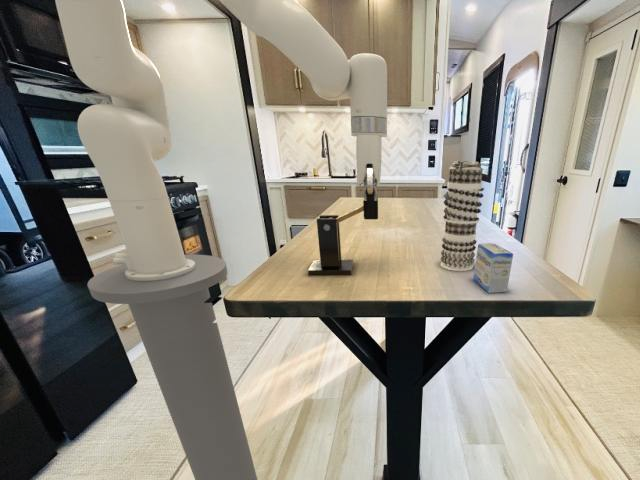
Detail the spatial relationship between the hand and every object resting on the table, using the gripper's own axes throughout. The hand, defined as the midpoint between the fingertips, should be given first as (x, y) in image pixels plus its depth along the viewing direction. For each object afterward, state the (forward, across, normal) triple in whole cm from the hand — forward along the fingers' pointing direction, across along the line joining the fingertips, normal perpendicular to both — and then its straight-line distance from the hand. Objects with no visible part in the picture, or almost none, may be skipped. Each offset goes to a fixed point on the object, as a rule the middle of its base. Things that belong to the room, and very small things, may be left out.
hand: (371, 215), depth 74 cm
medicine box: (+13, +12, +26) cm, 32 cm away
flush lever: (+1, 0, -5) cm, 5 cm away
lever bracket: (+13, 0, -10) cm, 16 cm away
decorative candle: (+13, -2, +22) cm, 26 cm away
